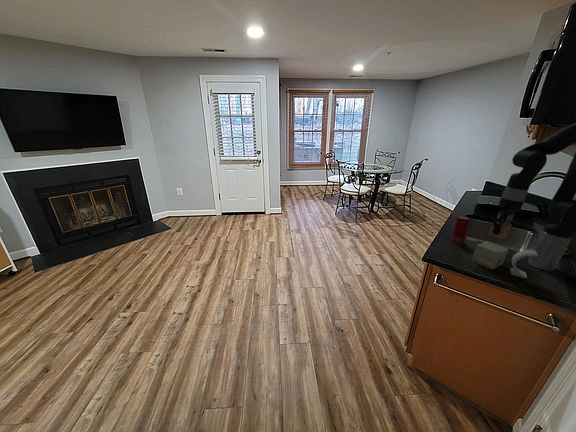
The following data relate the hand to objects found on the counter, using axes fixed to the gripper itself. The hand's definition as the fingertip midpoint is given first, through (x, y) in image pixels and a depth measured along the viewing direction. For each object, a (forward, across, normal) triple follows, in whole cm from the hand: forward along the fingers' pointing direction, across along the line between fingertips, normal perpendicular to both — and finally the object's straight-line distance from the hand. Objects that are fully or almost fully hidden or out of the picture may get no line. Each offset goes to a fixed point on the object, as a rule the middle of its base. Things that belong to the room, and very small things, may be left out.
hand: (498, 232), depth 108 cm
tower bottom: (+17, 0, 0) cm, 17 cm away
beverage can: (+16, +9, +19) cm, 27 cm away
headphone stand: (+16, +2, -11) cm, 20 cm away
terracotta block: (+1, 0, 0) cm, 1 cm away
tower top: (+12, 0, 0) cm, 12 cm away
